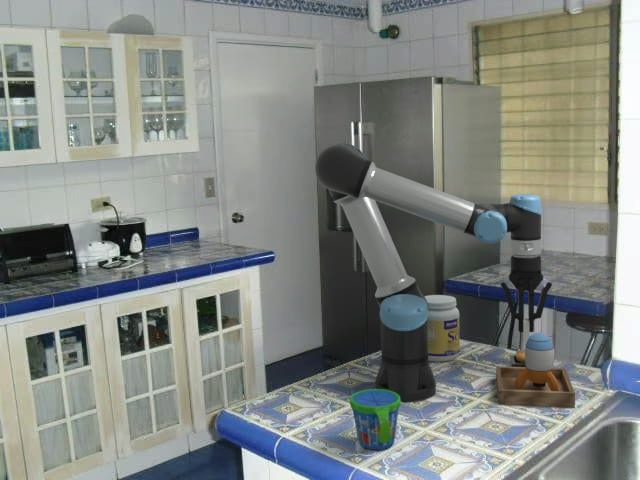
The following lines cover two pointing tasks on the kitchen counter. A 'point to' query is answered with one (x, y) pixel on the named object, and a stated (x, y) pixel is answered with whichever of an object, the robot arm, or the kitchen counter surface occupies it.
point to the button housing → (516, 362)
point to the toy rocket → (538, 363)
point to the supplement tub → (443, 328)
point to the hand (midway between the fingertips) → (526, 343)
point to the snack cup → (375, 417)
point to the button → (520, 355)
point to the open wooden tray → (533, 390)
